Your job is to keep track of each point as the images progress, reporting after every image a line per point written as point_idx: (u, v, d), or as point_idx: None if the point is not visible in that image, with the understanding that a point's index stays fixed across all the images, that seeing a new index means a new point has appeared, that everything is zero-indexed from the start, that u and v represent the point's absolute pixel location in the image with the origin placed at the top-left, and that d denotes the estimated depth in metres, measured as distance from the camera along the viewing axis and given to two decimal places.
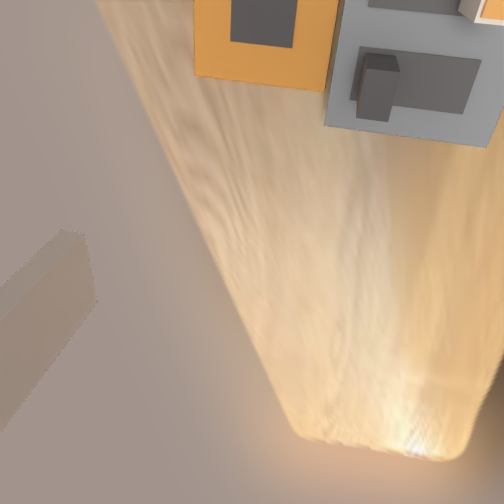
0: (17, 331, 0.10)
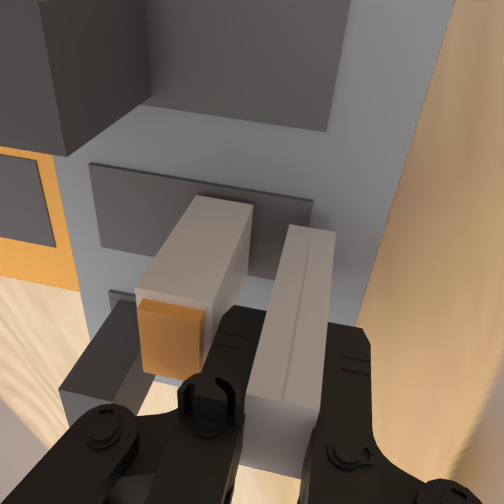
0: None
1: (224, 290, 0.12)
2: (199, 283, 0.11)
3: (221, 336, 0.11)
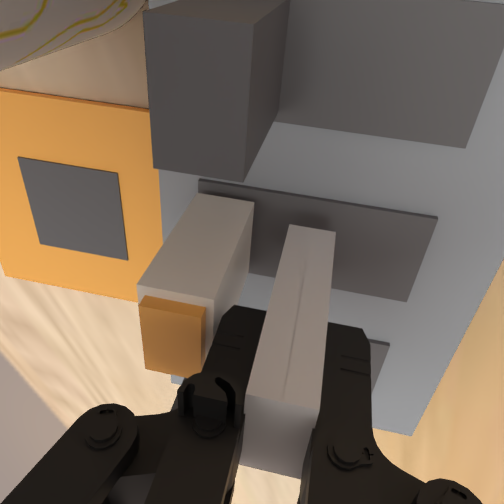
0: None
1: (225, 287, 0.12)
2: (200, 279, 0.11)
3: (221, 336, 0.11)
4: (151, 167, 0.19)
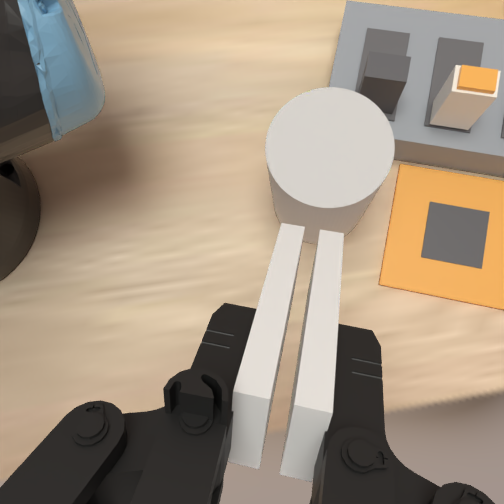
0: (288, 313, 0.11)
1: None
2: (451, 76, 0.31)
3: (211, 334, 0.11)
4: (426, 182, 0.38)
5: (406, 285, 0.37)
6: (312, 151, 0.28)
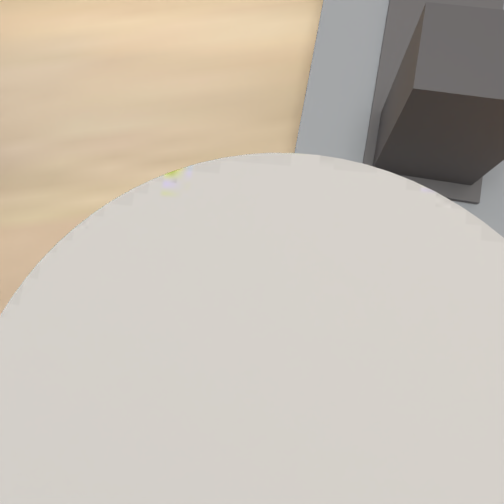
0: None
1: None
2: None
3: None
4: None
5: None
6: None
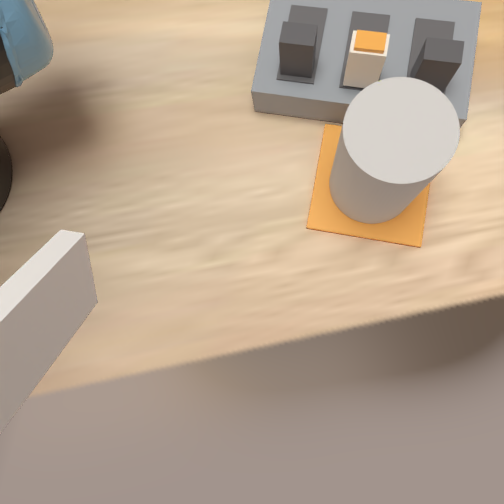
0: (17, 331, 0.10)
1: None
2: None
3: None
4: None
5: (329, 227, 0.43)
6: (385, 134, 0.31)
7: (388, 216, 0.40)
